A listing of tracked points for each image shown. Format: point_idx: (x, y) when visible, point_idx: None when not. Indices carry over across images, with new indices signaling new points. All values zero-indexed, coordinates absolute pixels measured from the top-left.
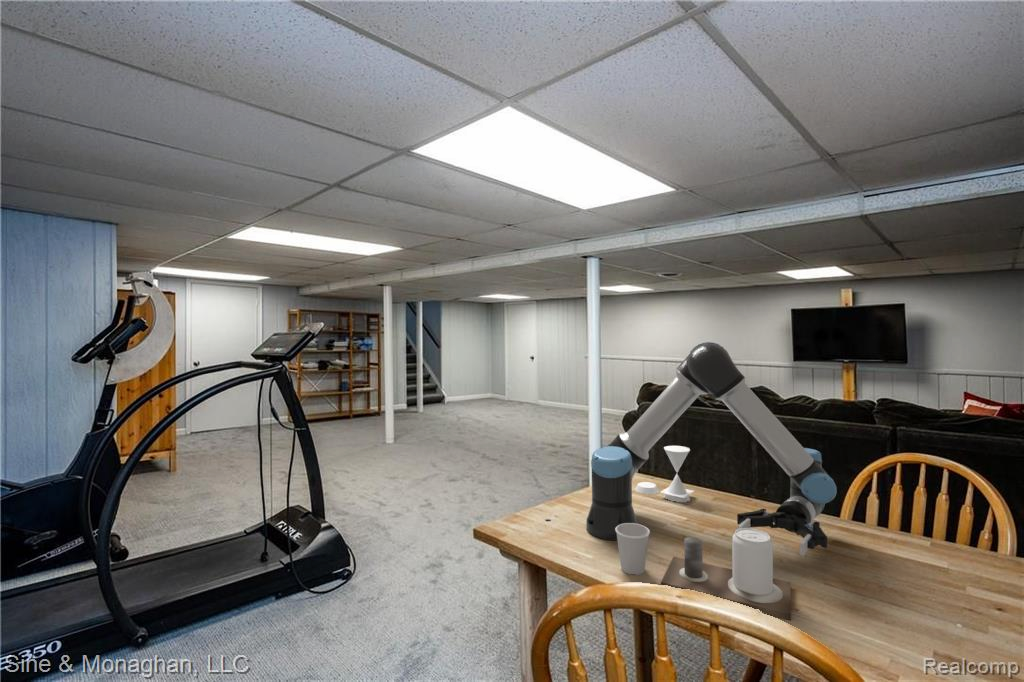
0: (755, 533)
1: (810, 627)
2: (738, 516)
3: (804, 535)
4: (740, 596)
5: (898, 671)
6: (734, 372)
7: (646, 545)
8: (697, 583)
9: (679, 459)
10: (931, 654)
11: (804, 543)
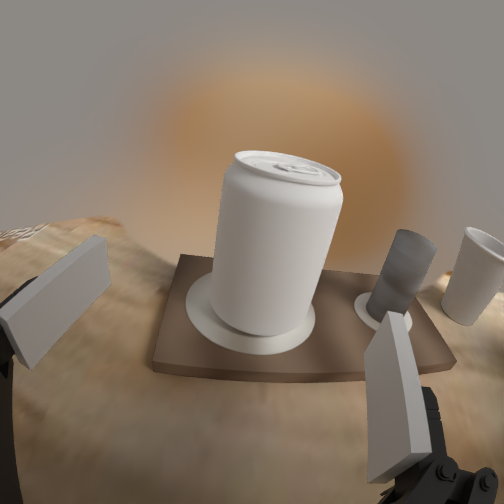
0: (283, 174)
1: (150, 257)
2: (480, 470)
3: (2, 426)
4: None
5: (76, 220)
6: None
7: (462, 258)
8: (359, 289)
9: None
10: (13, 244)
11: (83, 246)
